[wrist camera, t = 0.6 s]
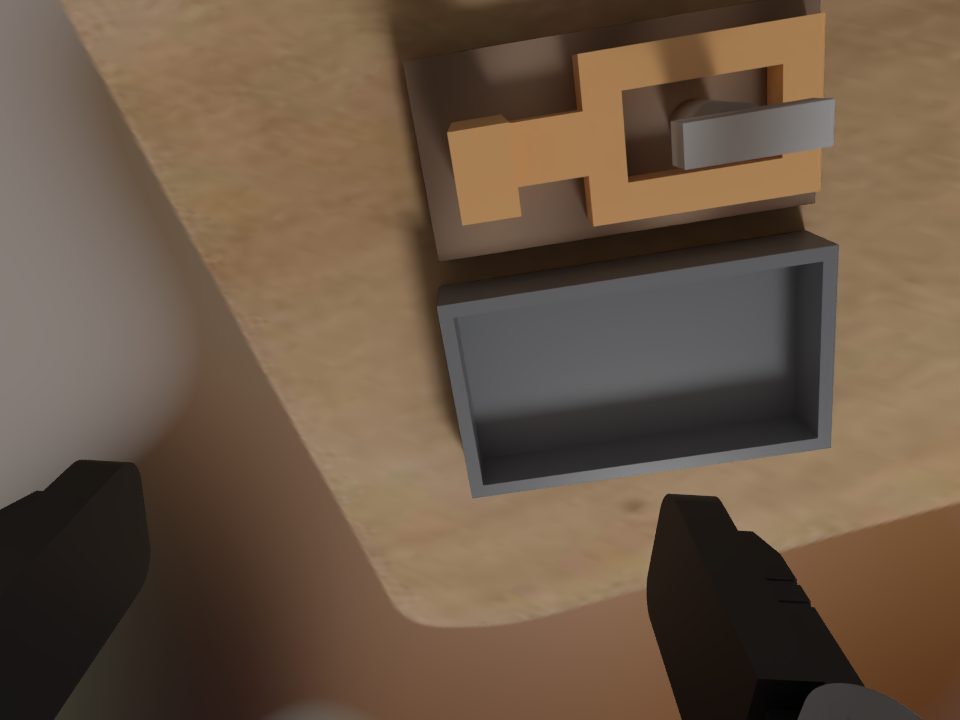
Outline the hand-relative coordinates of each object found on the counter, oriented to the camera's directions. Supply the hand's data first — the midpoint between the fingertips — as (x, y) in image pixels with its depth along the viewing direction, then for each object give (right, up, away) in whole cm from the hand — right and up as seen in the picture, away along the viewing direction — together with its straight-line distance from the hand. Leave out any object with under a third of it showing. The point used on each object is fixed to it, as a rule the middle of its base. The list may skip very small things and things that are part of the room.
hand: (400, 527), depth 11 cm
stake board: (+7, +12, +19) cm, 23 cm away
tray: (+8, +3, +22) cm, 24 cm away
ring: (+7, +12, +17) cm, 22 cm away
